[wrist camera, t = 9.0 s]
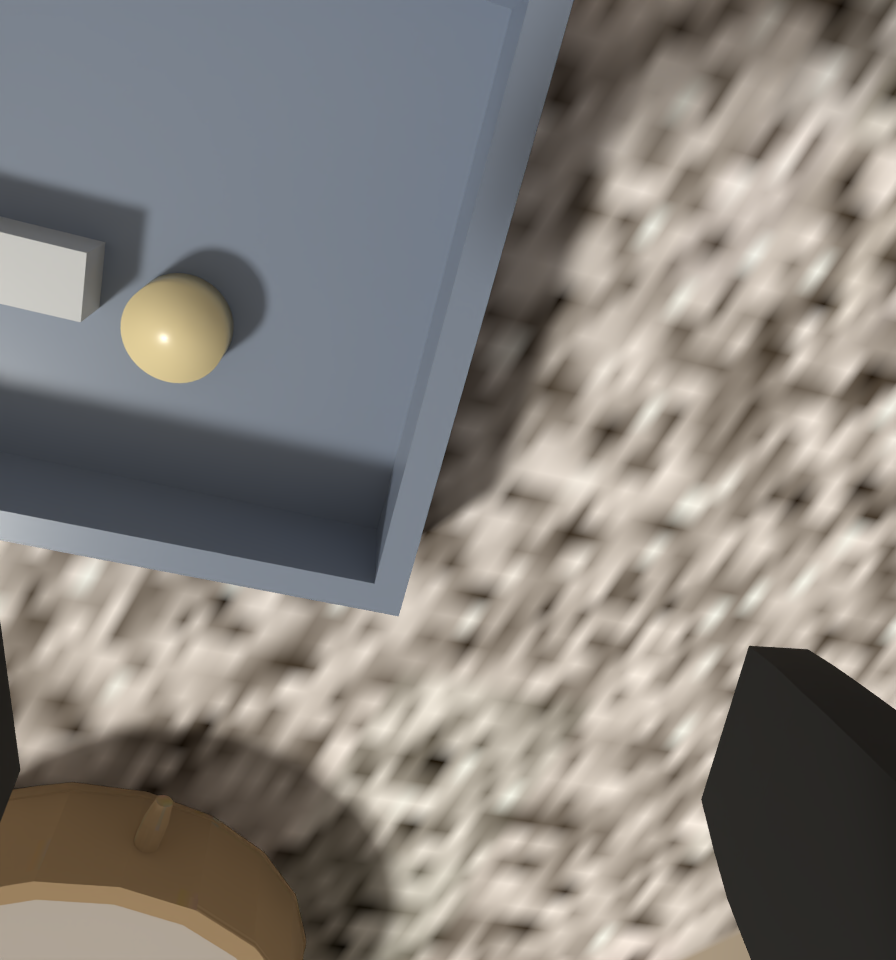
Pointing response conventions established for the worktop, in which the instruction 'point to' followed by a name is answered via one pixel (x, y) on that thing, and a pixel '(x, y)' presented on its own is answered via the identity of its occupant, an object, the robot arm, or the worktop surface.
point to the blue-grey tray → (251, 273)
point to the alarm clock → (135, 881)
